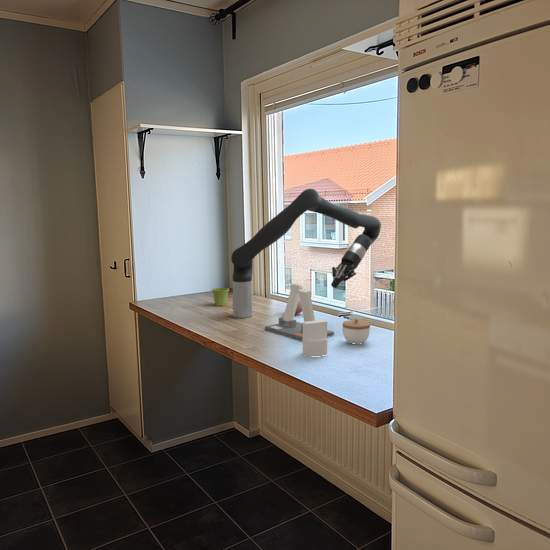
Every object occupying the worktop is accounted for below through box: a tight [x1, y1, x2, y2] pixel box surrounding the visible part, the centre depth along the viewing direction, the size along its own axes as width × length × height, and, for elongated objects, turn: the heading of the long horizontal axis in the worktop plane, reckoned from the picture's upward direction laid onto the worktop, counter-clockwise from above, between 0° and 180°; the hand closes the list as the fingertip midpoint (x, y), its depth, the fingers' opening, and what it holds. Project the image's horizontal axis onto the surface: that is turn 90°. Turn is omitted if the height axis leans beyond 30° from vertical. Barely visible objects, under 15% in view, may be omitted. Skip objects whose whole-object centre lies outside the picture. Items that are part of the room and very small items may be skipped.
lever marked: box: [298, 288, 316, 322], centre depth 215 cm, size 2×5×17 cm, turn 38°
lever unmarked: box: [282, 283, 304, 324], centre depth 229 cm, size 2×5×17 cm, turn 39°
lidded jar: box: [342, 318, 371, 345], centre depth 207 cm, size 11×11×9 cm
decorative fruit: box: [286, 296, 303, 315], centre depth 257 cm, size 9×8×10 cm
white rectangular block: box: [301, 319, 328, 357], centre depth 192 cm, size 9×9×12 cm
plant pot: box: [211, 287, 230, 307], centre depth 280 cm, size 9×9×9 cm
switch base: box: [264, 316, 335, 342], centre depth 223 cm, size 16×26×4 cm, turn 39°
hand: (333, 286), depth 223 cm, fingers closed
